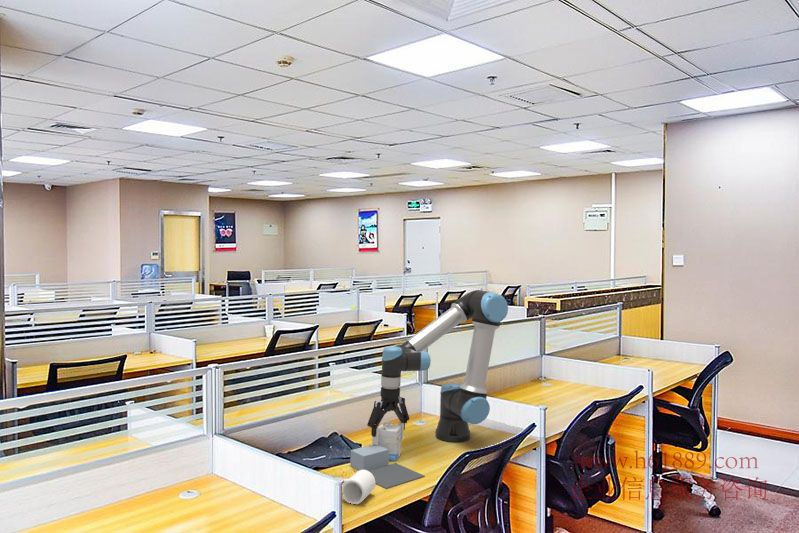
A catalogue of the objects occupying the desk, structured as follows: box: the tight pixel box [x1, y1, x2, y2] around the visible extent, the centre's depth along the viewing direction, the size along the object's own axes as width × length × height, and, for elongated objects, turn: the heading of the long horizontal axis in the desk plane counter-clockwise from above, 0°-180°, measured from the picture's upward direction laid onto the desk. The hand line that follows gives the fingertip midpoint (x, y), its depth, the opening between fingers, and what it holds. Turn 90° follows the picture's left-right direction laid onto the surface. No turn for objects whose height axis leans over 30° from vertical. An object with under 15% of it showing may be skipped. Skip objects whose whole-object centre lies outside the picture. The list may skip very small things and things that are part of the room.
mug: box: [342, 470, 376, 505], centre depth 204 cm, size 12×10×8 cm
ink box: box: [377, 420, 402, 462], centre depth 243 cm, size 9×8×13 cm
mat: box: [369, 462, 425, 490], centre depth 224 cm, size 18×16×1 cm
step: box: [349, 444, 390, 471], centre depth 233 cm, size 12×8×6 cm, turn 131°
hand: (387, 441), depth 243 cm, fingers open, 12 cm apart
